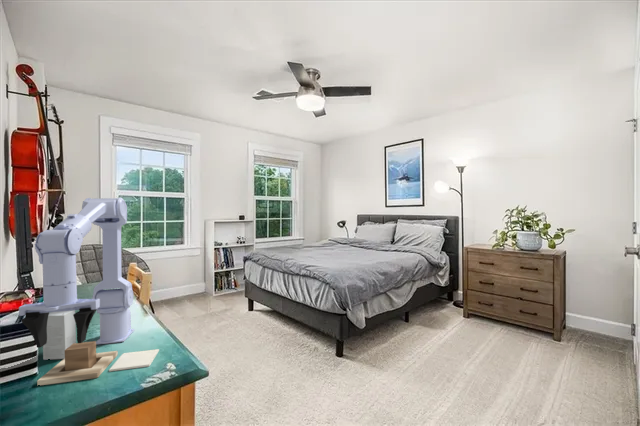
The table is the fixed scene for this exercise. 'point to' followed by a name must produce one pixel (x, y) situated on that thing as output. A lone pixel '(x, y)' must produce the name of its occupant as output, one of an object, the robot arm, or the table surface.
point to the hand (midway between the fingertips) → (62, 343)
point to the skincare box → (59, 334)
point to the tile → (134, 360)
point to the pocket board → (61, 375)
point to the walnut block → (80, 356)
